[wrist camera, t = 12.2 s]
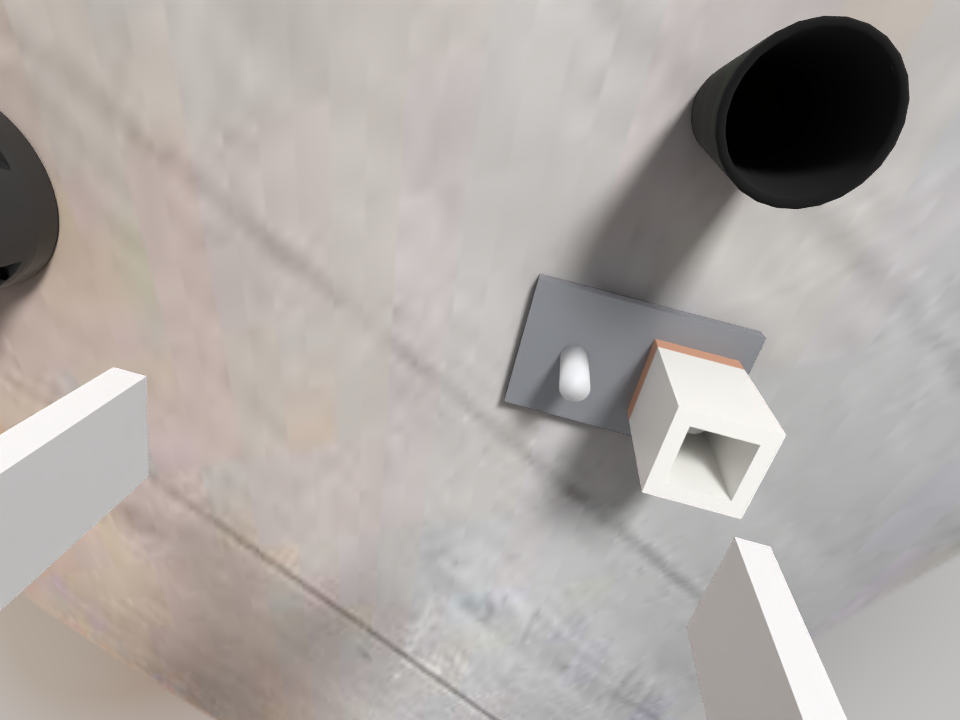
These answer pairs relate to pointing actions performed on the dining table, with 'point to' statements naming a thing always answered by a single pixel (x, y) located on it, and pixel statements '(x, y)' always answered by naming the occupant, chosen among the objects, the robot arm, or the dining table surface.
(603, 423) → the grey board with pegs
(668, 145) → the dining table surface
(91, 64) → the dining table surface
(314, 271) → the dining table surface
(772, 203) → the cup
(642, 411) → the sleeve
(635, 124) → the dining table surface
